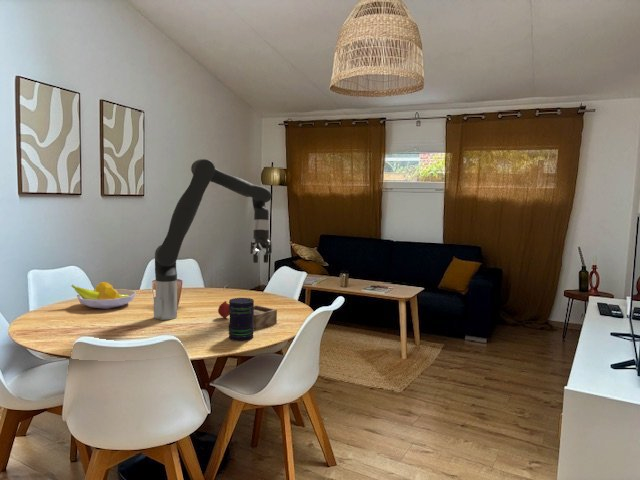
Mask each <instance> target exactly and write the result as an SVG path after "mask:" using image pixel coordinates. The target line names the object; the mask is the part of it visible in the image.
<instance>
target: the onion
mask: <svg viewBox="0 0 640 480" xmlns="http://www.w3.org/2000/svg"><path fill="white" fill-rule="evenodd" d="M217 312H218V315H220V316H221V317H222V318H223V319H227V317H228V316H229V317H230V315H229V303H227V300H224V302H222V303H220V305H219V307H218V309H217Z"/></svg>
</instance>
